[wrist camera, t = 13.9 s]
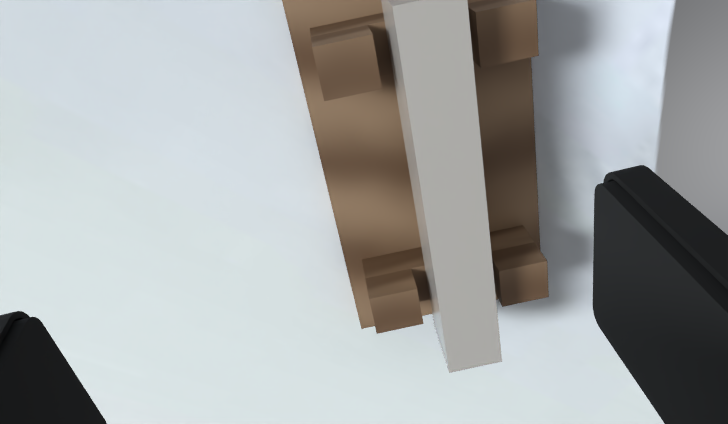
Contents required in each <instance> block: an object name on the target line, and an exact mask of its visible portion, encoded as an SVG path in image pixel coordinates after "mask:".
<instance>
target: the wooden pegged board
mask: <svg viewBox="0 0 728 424" xmlns="http://www.w3.org/2000/svg"><path fill="white" fill-rule="evenodd" d="M467 1H468V12H469V22H470V33H471V43H472V54H473V64H474V75H475V85H476V96H477V106H478V116H479V127H480V137H481V148H482V158H483V169H484V179H485V190H486V200H487V211H488V221H489V232H490V242H491V252H492V263H493V273H494V284H495V294H496V300H498V299H499V301H500V303H501V305H502V307H503V306H508V305H513V304H517V303H522V302H527V301H531V300H536V299H541V298H545V297H549V295H548V271H547V260H546V259H545V257H544V256H543V254H542V253H541V251H540V235H539V215H538V194H537V173H536V152H535V131H534V110H533V89H532V68H531V57H534V56H539V54H538V30H537V6H536V0H467ZM282 2H283V6H284V10H285V14H286V18H287V22H288V26H289V31H290V35H291V39H292V43H293V47H294V51H295V55H296V59H297V64H298V68H299V72H300V76H301V80H302V84H303V88H304V93H305V97H306V101H307V105H308V109H309V113H310V117H311V122H312V126H313V130H314V134H315V138H316V142H317V146H318V150H319V155H320V159H321V163H322V167H323V171H324V175H325V179H326V184H327V188H328V192H329V196H330V200H331V204H332V208H333V213H334V217H335V221H336V225H337V229H338V233H339V237H340V241H341V246H342V250H343V254H344V258H345V262H346V266H347V270H348V275H349V279H350V283H351V287H352V291H353V295H354V299H355V304H356V308H357V312H358V316H359V320H360V324H361V328H362V329H363V328H367V327H372V326H375V327H376V332H377V333H382V332H387V331H391V330H396V329H401V328H405V327H410V326H415V325H419V324H423V319H422V316H423V315H428V314H432V308H431V302H430V296H429V290H428V284H427V278H426V271H425V265H424V259H423V253H422V247H421V241H420V235H419V229H418V223H417V216H416V210H415V204H414V198H413V192H412V186H411V180H410V174H409V168H408V161H407V155H406V149H405V143H404V137H403V131H402V125H401V119H400V112H399V106H398V100H397V94H396V88H395V82H394V76H393V70H392V64H391V57H390V51H389V45H388V39H387V33H386V27H385V21H384V15H383V9H382V2H381V0H282Z"/></svg>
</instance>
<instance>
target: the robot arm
mask: <svg viewBox="0 0 728 424" xmlns="http://www.w3.org/2000/svg"><path fill="white" fill-rule="evenodd" d="M593 311H594V316H595V319H596V321H597V324H598V326H599V327H600V329H601V330H602V332H603V333H604V335H605V336H606V338H607V339H608V341H609V342H610V344H611V345H612V347H613V348H614V350H615V351H616V352H617V354H618V355H619V357H620V358H621V360H622V361H623V363H624V364H625V366H626V367H627V369H628V370H629V372H630V373H631V374H632V376H633V377H634V379H635V380H636V382H637V383H638V385H639V386H640V388H641V389H642V391H643V392H644V394H645V395H646V397H647V398H648V399H649V401H650V402H651V404H652V405H653V407H654V408H655V410H656V411H657V413H658V414H659V416H660V417H661V419H662V420H663V422H664V423H665V424H728V235H727V234H725V233H724V232H723V231H722V230H721V229H720V228H718V227H717V226H716V225H715V224H714V223H713V222H711V221H710V220H709V219H708V218H707V217H706V216H704V215H703V214H702V213H701V212H700V211H698V210H697V209H696V208H695V207H694V206H693V205H691V204H690V203H689V202H688V201H687V200H686V199H684V198H683V197H682V196H681V195H680V194H679V193H677V192H676V191H675V190H674V189H673V188H671V187H670V186H669V185H668V184H667V183H665V182H664V181H663V180H662V179H661V178H660V177H659V176H657V175H656V174H655V173H654V172H653V171H652V170H650V169H649V168H648V167H646V166H644V165H640V166H635V167H631V168H627V169H623V170H618V171H614V172H610V173H608V174H607V175H606V176H605V178H604V183H601V184H598V185H597V186H596V188H595V198H594V261H593ZM0 424H107V423H106V421H105V419H104V418H103V416H102V415H101V413H100V412H99V410H98V409H97V407H96V405H95V404H94V402H93V401H92V399H91V398H90V396H89V395H88V393H87V392H86V390H85V388H84V387H83V385H82V384H81V382H80V381H79V379H78V378H77V376H76V375H75V373H74V371H73V370H72V368H71V367H70V365H69V364H68V362H67V361H66V359H65V358H64V356H63V354H62V353H61V351H60V350H59V348H58V347H57V345H56V344H55V342H54V341H53V339H52V337H51V336H50V334H49V333H48V331H47V330H46V328H45V327H44V325H43V324H42V322H41V321H40V320H39V319H38V318H36V317H29V316H28V315H27V314H26V313H24V312H20V311H17V312H12V313H8V314H4V315H0Z"/></svg>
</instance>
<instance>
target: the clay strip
mask: <svg viewBox="0 0 728 424" xmlns="http://www.w3.org/2000/svg"><path fill="white" fill-rule="evenodd" d="M381 2H382V9H383V15H384V21H385V27H386V33H387V39H388V45H389V51H390V57H391V64H392V70H393V76H394V82H395V88H396V94H397V100H398V106H399V112H400V119H401V125H402V131H403V137H404V143H405V149H406V155H407V161H408V168H409V174H410V180H411V186H412V192H413V198H414V204H415V210H416V216H417V223H418V229H419V235H420V241H421V247H422V253H423V259H424V265H425V271H426V278H427V284H428V290H429V296H430V302H431V308H432V314H433V320H434V326H435V330H436V333H437V336H438V339H439V342H440V345H441V348H442V351H443V355H444V358H445V361H446V364H447V367H448V370H449V373H450V372H455V371H460V370H464V369H469V368H474V367H478V366H483V365H488V364H492V363H497V362H502V357H501V347H500V336H499V326H498V315H497V305H496V294H495V284H494V273H493V263H492V252H491V242H490V232H489V221H488V211H487V200H486V190H485V179H484V169H483V158H482V148H481V137H480V127H479V116H478V106H477V96H476V85H475V75H474V64H473V54H472V43H471V33H470V22H469V12H468V1H467V0H381Z"/></svg>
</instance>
